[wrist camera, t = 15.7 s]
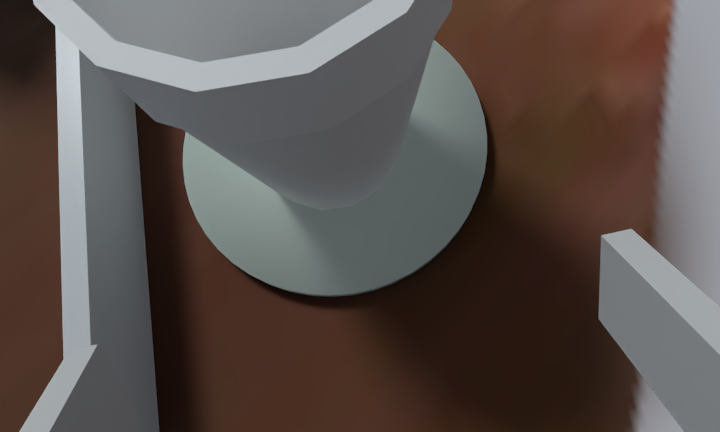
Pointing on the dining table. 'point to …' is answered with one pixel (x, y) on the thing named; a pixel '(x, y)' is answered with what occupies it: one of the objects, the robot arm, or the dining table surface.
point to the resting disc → (366, 218)
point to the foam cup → (270, 80)
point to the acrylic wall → (103, 226)
